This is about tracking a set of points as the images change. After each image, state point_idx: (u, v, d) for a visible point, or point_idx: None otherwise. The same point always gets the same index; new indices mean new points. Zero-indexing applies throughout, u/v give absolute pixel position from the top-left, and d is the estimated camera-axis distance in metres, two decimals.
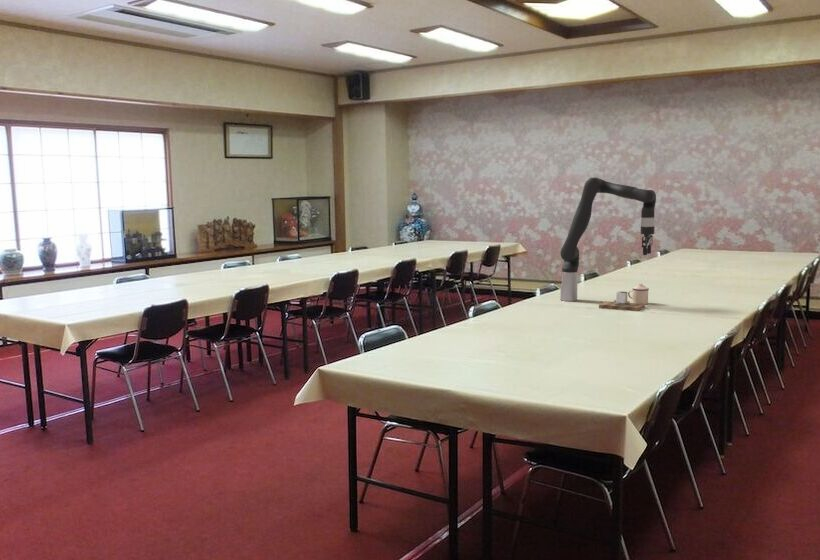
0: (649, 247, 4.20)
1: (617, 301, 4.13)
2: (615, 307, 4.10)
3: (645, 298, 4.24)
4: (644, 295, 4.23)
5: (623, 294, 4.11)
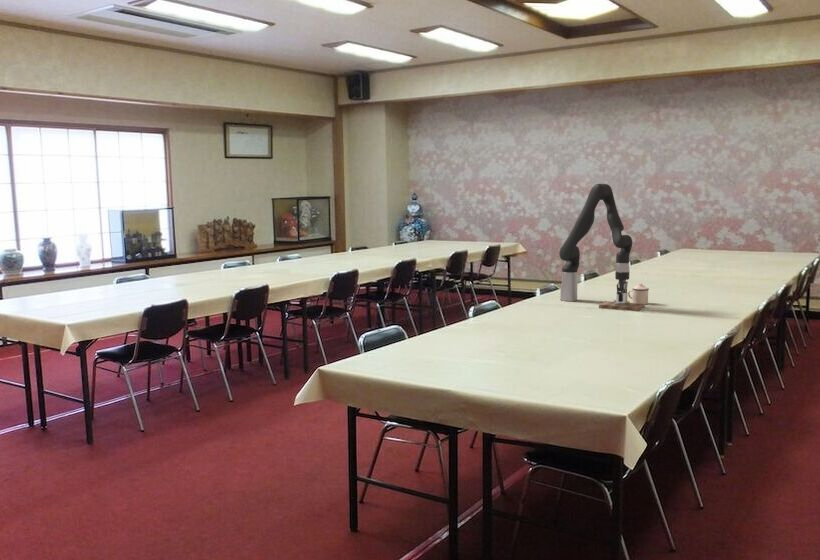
0: None
1: (617, 301, 4.13)
2: (615, 307, 4.10)
3: (645, 298, 4.24)
4: (644, 295, 4.23)
5: (623, 294, 4.11)
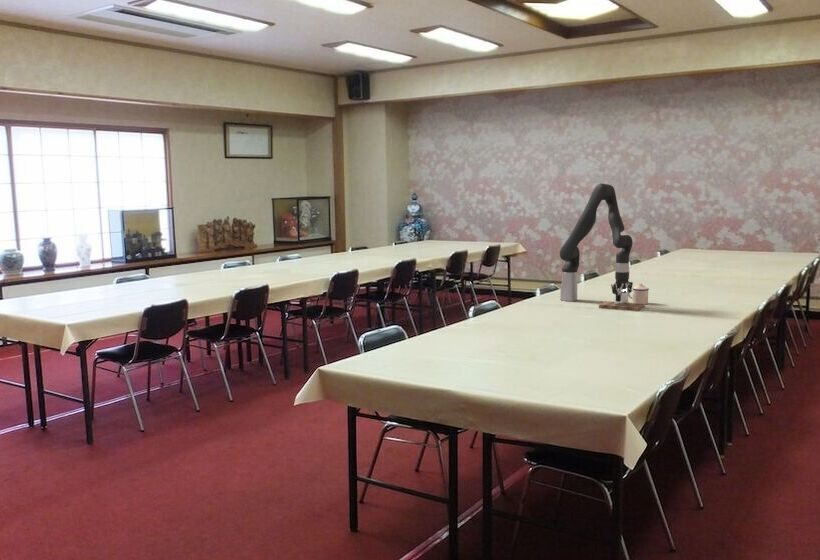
0: None
1: (616, 301, 4.15)
2: (615, 307, 4.10)
3: (645, 298, 4.24)
4: (644, 295, 4.23)
5: (621, 294, 4.11)
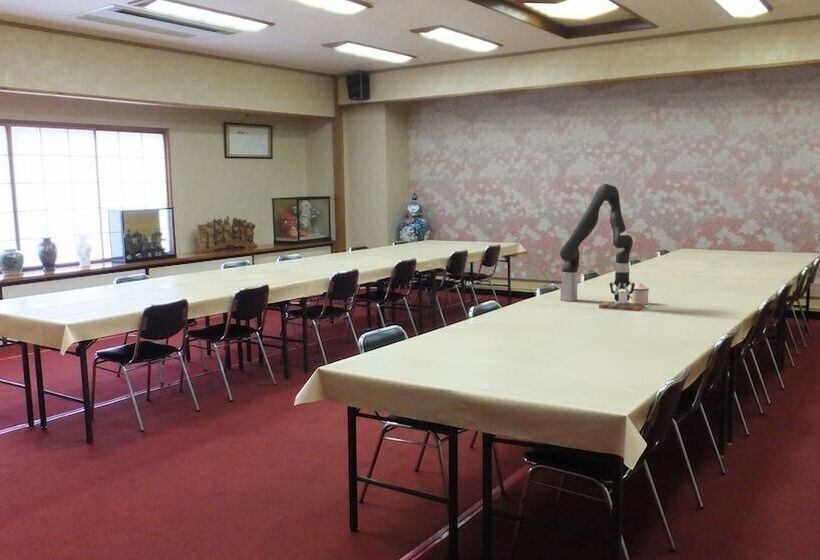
0: None
1: None
2: (615, 307, 4.10)
3: (645, 298, 4.24)
4: (644, 295, 4.23)
5: (618, 294, 4.12)
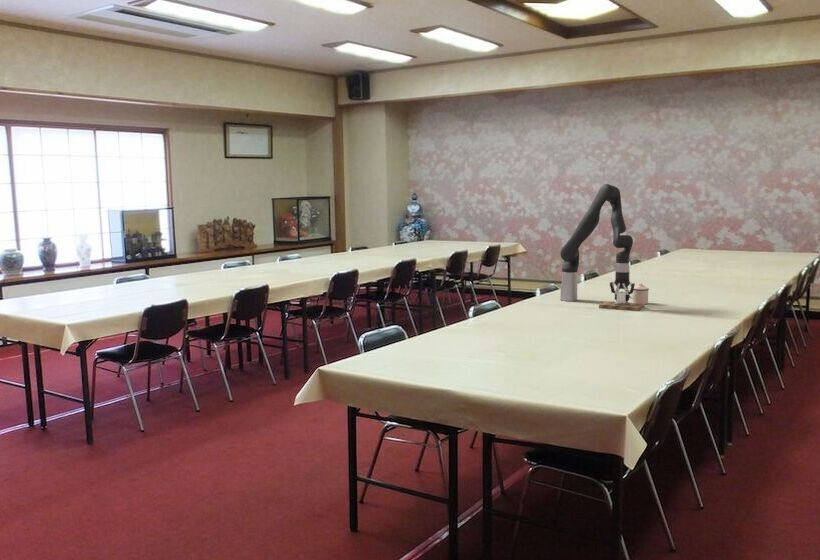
0: None
1: None
2: (615, 307, 4.10)
3: (645, 298, 4.24)
4: (644, 295, 4.23)
5: None
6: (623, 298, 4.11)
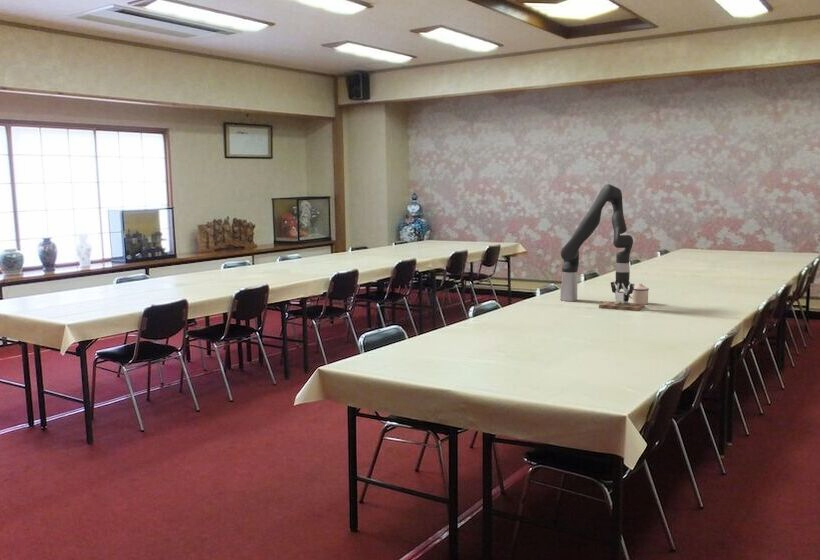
0: None
1: None
2: (615, 307, 4.10)
3: (645, 298, 4.24)
4: (644, 295, 4.23)
5: None
6: (621, 298, 4.11)
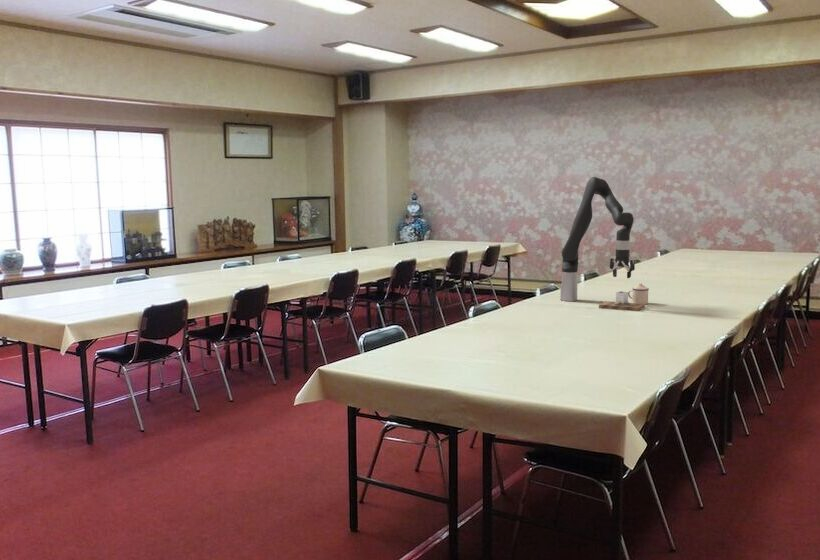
0: None
1: None
2: (615, 307, 4.10)
3: (645, 298, 4.24)
4: (644, 295, 4.23)
5: None
6: (621, 298, 4.11)
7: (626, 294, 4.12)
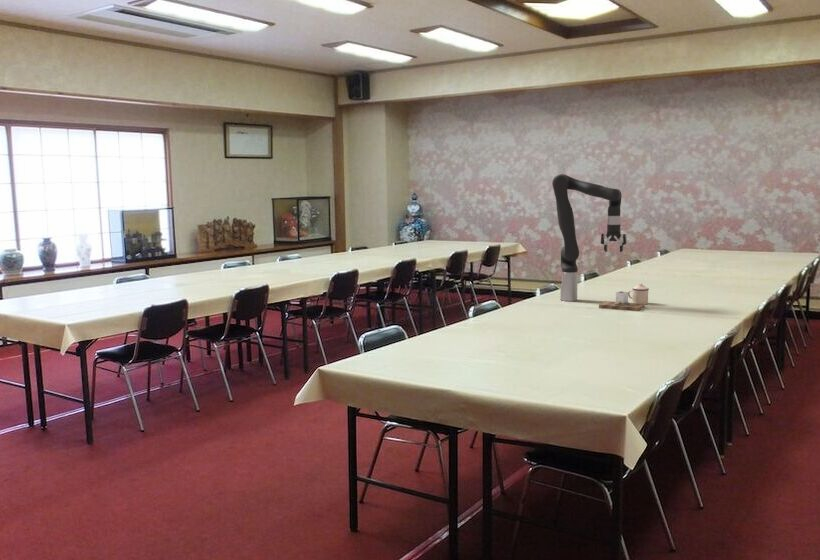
0: None
1: None
2: (615, 307, 4.10)
3: (645, 298, 4.24)
4: (644, 295, 4.23)
5: None
6: (621, 298, 4.11)
7: (626, 294, 4.13)
